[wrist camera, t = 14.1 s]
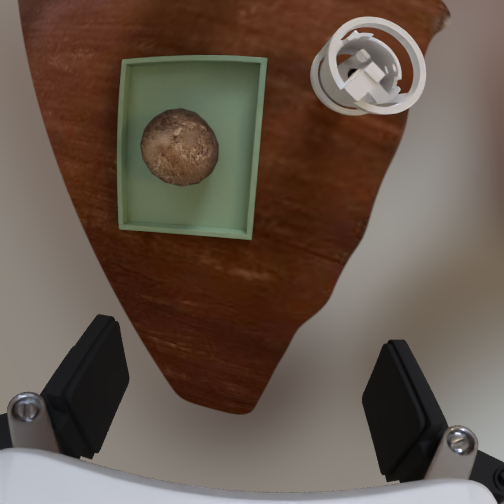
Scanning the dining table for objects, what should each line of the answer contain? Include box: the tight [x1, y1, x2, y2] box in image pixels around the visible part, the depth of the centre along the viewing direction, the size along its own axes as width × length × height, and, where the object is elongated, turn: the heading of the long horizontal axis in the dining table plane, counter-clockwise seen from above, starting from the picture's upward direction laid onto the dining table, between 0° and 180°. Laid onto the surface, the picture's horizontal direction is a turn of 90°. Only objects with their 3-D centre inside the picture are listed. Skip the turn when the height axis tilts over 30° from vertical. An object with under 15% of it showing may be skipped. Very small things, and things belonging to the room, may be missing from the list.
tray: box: [117, 55, 267, 240], centre depth 32 cm, size 19×15×2 cm
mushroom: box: [140, 108, 219, 187], centre depth 30 cm, size 8×8×6 cm
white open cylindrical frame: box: [310, 17, 426, 115], centre depth 23 cm, size 7×7×15 cm
